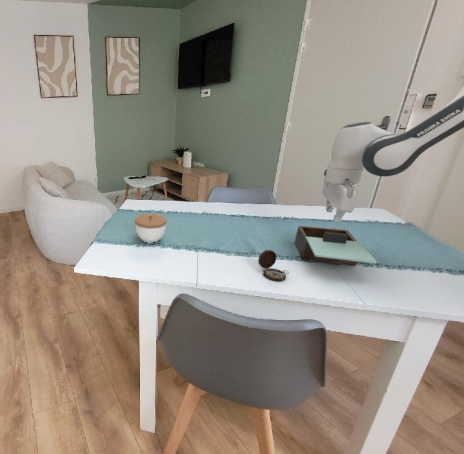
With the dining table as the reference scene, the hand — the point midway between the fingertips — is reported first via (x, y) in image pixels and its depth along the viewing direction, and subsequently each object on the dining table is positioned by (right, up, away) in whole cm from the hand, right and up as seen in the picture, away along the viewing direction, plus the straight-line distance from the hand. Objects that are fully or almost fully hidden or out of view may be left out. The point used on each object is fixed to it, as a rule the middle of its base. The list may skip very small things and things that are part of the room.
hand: (332, 216), depth 99 cm
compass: (-23, -19, -6) cm, 31 cm away
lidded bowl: (-59, -9, +22) cm, 63 cm away
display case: (0, -13, +5) cm, 14 cm away
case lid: (-5, -11, -8) cm, 14 cm away
